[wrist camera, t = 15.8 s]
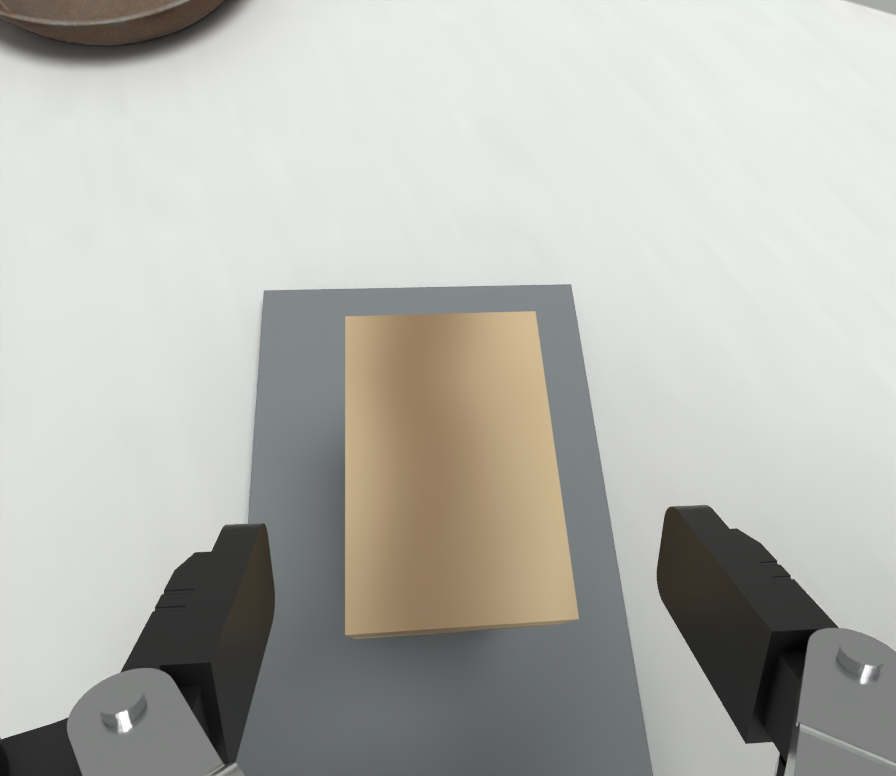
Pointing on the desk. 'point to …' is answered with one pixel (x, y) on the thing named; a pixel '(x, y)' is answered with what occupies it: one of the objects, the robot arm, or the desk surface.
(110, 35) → the plant saucer
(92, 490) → the desk surface
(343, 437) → the grey mat
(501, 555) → the oak stool
